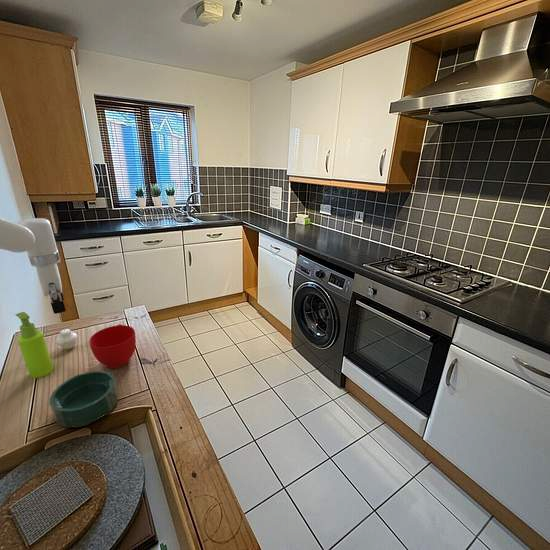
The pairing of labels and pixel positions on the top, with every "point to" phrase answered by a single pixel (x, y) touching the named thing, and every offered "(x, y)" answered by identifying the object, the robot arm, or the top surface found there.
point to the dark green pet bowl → (84, 398)
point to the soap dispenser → (34, 348)
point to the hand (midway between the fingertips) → (59, 306)
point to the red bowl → (113, 345)
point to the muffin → (66, 339)
